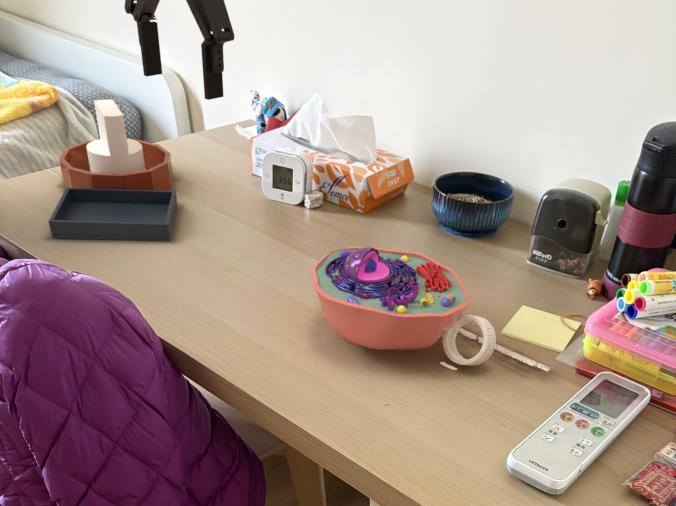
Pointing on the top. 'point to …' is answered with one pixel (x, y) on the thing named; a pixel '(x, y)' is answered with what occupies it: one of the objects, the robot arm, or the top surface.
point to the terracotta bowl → (152, 179)
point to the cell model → (388, 297)
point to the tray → (114, 214)
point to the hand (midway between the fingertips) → (182, 86)
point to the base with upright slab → (113, 143)
